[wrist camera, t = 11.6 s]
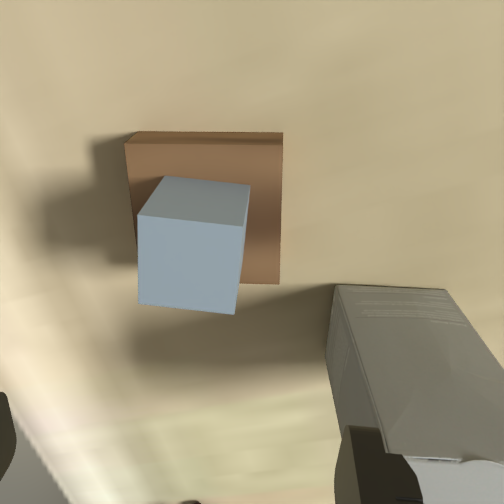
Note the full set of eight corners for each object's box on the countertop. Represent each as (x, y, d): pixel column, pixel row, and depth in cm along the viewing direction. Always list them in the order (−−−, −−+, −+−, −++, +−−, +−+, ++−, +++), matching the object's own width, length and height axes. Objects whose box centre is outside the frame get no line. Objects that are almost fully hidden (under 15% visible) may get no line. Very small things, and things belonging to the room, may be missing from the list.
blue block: (164, 175, 28) (137, 214, 23) (250, 185, 28) (243, 226, 23) (163, 251, 30) (138, 303, 25) (242, 260, 30) (234, 314, 25)
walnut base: (140, 129, 30) (123, 143, 27) (283, 130, 30) (282, 145, 27) (154, 255, 35) (141, 280, 31) (279, 258, 34) (279, 284, 31)
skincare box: (323, 351, 37) (350, 564, 23) (335, 270, 34) (376, 460, 20) (434, 360, 37) (530, 580, 23) (457, 279, 33) (587, 477, 19)
